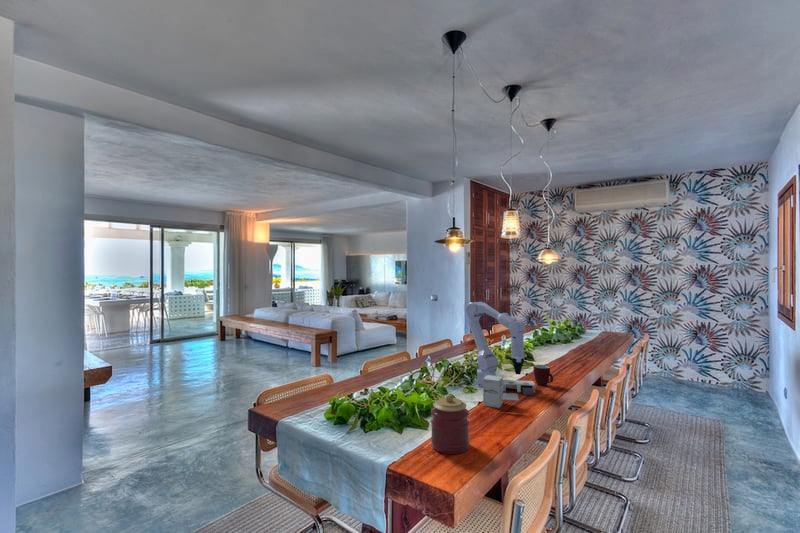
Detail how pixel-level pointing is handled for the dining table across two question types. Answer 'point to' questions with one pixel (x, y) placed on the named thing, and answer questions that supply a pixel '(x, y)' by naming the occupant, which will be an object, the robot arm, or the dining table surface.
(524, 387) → the plug
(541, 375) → the mug
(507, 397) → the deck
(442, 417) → the canister
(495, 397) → the supplement box
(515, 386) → the socket bar
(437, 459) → the dining table surface
